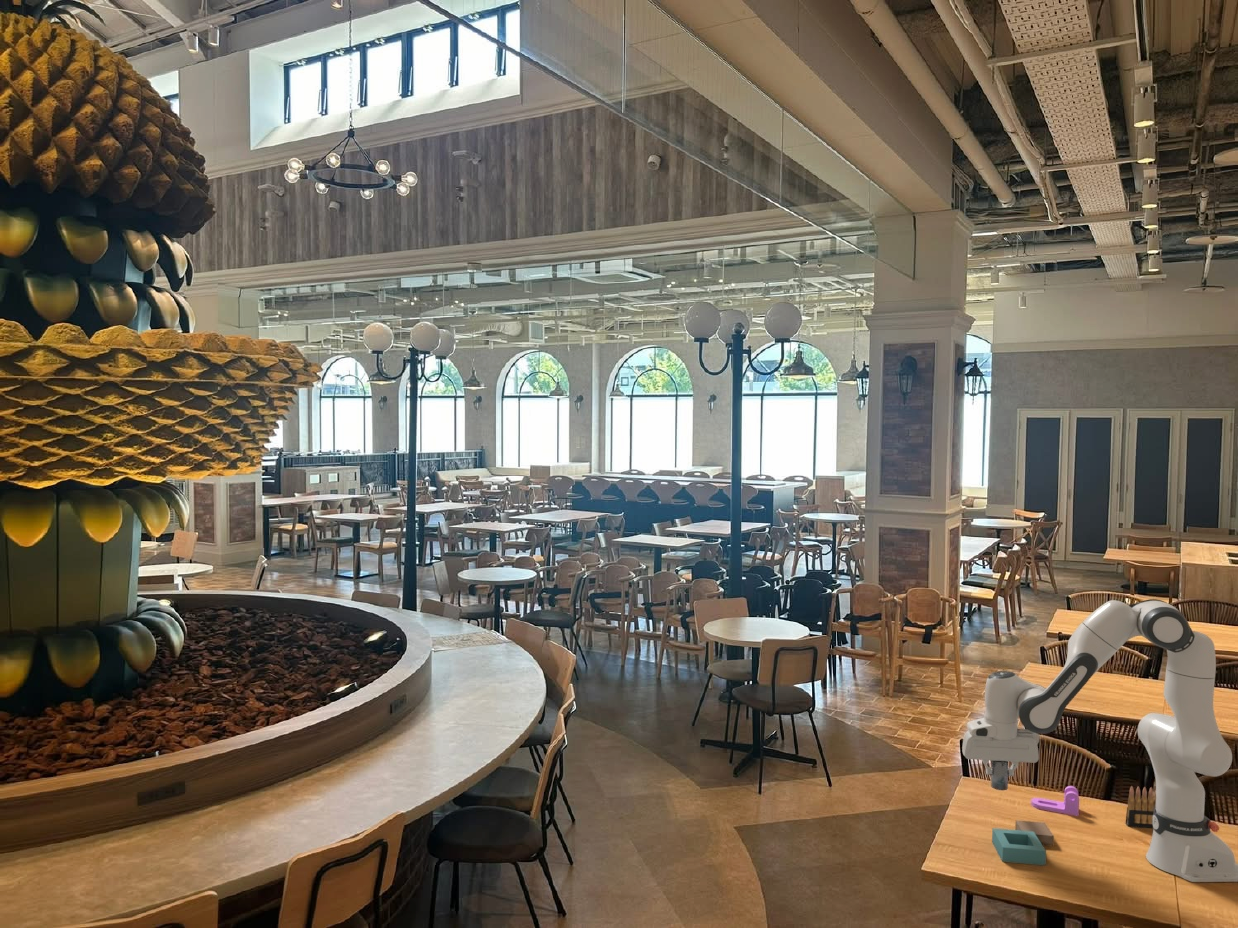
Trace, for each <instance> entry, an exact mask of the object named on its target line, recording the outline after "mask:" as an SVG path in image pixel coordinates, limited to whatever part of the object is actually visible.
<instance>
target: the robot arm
mask: <svg viewBox="0 0 1238 928" xmlns="http://www.w3.org/2000/svg"><path fill="white" fill-rule="evenodd" d="M1135 637H1142V638H1145V639H1146V640H1147V641H1148V642H1150V643H1152V644H1153V645H1155V646H1157V647H1159V648H1162V649H1164V650H1166V653H1167V659H1166V667H1165V676H1164V677H1165V678H1164V686H1163V698H1164V700H1165V701H1166V703H1167V705H1168V706H1169V707H1170V709H1171V711H1172V714H1173V716H1172V715H1169V714H1164V713H1159V712H1150V713H1147V714H1145V715H1144V716H1143V717H1142V718H1141V719H1140V720H1139V723H1138V725H1137V736H1138V738H1139V740H1140V741H1141V742H1142V744H1143V746H1144V747H1145V749H1146V751H1147V753H1148V756H1149V759H1150V761H1151V762H1150V763H1151V765H1152V768H1153V772H1154V777H1155V791H1156V806H1155V807H1154V811H1153V828H1152V834H1151V835H1152V836H1151V841H1150V844H1149V848H1148V850H1147V851H1146V855H1145V857H1146V859H1147V862H1149V863H1150V864H1151V865H1153V866H1154V867H1156V868H1158V869H1159V870H1161V871H1164V872H1167V873H1169V874H1172V875H1175V876H1177V877H1180V878H1182V879H1184V880H1186V881H1188V882H1191V883H1217V882H1218V883H1220V882H1221V883H1223V882H1225V883H1228V882H1230V883H1231V882H1233V883H1238V863H1237V861H1236V858H1235V853H1234V852H1233V850H1232V849H1231V847H1230V846H1229V845H1228V844H1227V843H1226V842H1225V841H1223V839H1221V838H1220V837H1219V836H1218V835H1216V834H1215V833H1217V832H1218V831H1220V826H1219V825H1218V824H1216V822H1215V821H1212V820H1211V819H1210V818H1208V817H1207V816H1206V815H1205V804H1206V803H1205V802H1206V799H1205V798H1206V790H1205V788H1204V786H1203V783H1202V782H1201V781H1200V780H1199V778H1198V776H1197V775H1196V773H1198V774H1201V775H1204V776H1208V777H1219V776H1222V775H1223V774H1225V773H1226V772H1227V771H1228V770H1229V768H1230V767H1231V765H1232V762H1233V754H1232V750H1231V748H1230V746H1229V745H1228V744H1227V742H1226V740H1225V739H1224V737H1223V736H1222V734H1221V732H1220V729H1219V726H1218V723H1217V720H1216V715H1215V710H1214V709H1215V708H1214V693H1215V682H1216V681H1215V680H1216V673H1217V672H1216V668H1217V664H1216V663H1217V659H1216V658H1217V657H1216V648H1215V643H1214V640H1212V638H1211V637H1209V636H1208V635H1206V634H1205V633H1203V632H1201V631H1195V630H1193V629H1192V628H1191V626H1190V624H1189V622H1188V620H1187V619H1186V617H1185V616H1184V614H1183V613H1181V611H1179V609H1178V608H1176V607H1175V606H1173V605H1172V604H1171V603H1170V604H1169V603H1167V602H1166V601H1164V600H1161V599H1155V598H1148V599H1145V600H1142V601H1139V602H1135V603H1132V604H1127V603H1125V602H1122V601H1120V600H1115V599H1111V600H1108V601H1107V602H1105V603H1103V604H1102V605H1101V606H1099V607H1098V608H1096V609H1095V610H1094V611H1093V612H1091V613H1090V614H1089V615H1088V616H1087V617H1086V618H1085V619H1084V620H1083V621H1082V622H1081V623H1080V624H1079V625H1078V626H1077V627H1076V629H1075V630H1074V631H1073V632H1072V634H1071V636H1070V637H1069V639H1068V642H1067V656H1066V661H1065V664H1064V666H1063V668H1062V669H1061V671H1060V672H1059V673H1058V675H1057V676H1055V678H1054V679H1053V680H1052V682H1051V683H1050V684H1049V685H1048V686H1047V687H1044V686H1043V685H1041V684H1036V683H1032V682H1029V681H1027V680H1025V679H1024V678H1021V677H1020V676H1019V675H1017V674H1016V672H1014V671H1009V670H999V671H995V672H992V673H990V674H989V675H988V676H987V679H986V681H985V682H986V683H985V689H984V704H985V710H984V715H983V717H981V718H978V719H974V720H970V721H968V722H967V723H966V728H967V731H966V732H965V733H964V735H963V739H962V747H961V749H962V750H961V751H962V754H963V756H964V757H965V759H967V760H979V761H981V762H982V764H983V765H984V767H985V775H986V776H987V775H988V776H989V775H990V776H991V775H992V774H993V773H992V772H993V769H992V766H988V764H989V763H990V761H992V760H993V761H1008V762H1011V765H1010V767H1008V777H1014V776H1015V771H1016V769H1017V768H1018V767H1019V763H1033V764H1034V763H1035V764H1036V763H1037V762H1038V761H1039V759H1040V753H1039V748H1038V747H1039V746H1038V745H1039V743H1040V735H1045V734H1046V735H1047V734H1050V733H1052V732H1054V731H1055V730H1056V729H1057V728H1058V726H1059V725H1060V723H1061V720H1062V716H1063V713H1064V711H1065V709H1066V708H1067V706H1068V705H1069V704H1070V703H1071V701H1072V700H1073V699H1074V698H1075V697H1076V695H1077V694H1079V692H1080V691H1081V690H1082V689H1083V688H1084V686H1085V685H1086V684H1087V683H1088V681H1090V679H1091V678H1092V677H1093V676H1094V675H1095V674H1096V673H1097V672H1098V671H1099V669H1100V668H1101V667H1103V666H1104V665H1105V664H1106V663H1107V662H1108V661H1109V660H1110V659H1111V658H1112V657H1113V656H1114V655H1115V654H1116V653H1117V651H1119V650H1120V648H1122V647H1123V646H1124V644H1125V643H1127V642H1128V641H1129V640H1131V639H1133V638H1135ZM1018 719H1019V720H1020V723H1021V725H1022V726H1023V727H1024V728H1019V727H1018V722H1019V720H1018ZM1039 734H1040V735H1039Z"/></svg>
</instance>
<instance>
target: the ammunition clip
mask: <svg viewBox="0 0 1238 928" xmlns="http://www.w3.org/2000/svg"><path fill="white" fill-rule="evenodd" d="M1141 794H1142V795H1141ZM1155 806H1156V790H1155V792H1154V790H1153V787H1152V786H1151V787H1150V788H1149V791H1147V788H1146V786H1144V787H1143V789H1142V793H1141V789H1140V786H1138V785H1137V788H1136V789H1135V791H1134V787H1133V785H1131V786H1130V787H1129V794H1128V799H1127V807H1126V815H1125V825H1126V826H1127V827H1128V828H1141V829H1144V828H1145V829H1153V811H1154V807H1155Z"/></svg>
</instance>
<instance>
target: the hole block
mask: <svg viewBox="0 0 1238 928" xmlns="http://www.w3.org/2000/svg"><path fill="white" fill-rule="evenodd" d="M991 843H992V845H993V847H994V849H995V850H996V853H997V854H998V856H999V859H1000V860H1001V862H1003V863H1004V862H1005V863H1014V864H1026V865H1037V866H1046V861H1047V860H1046V857H1047V851H1046V849H1045V847H1044V845H1042V844H1041V842H1040V841H1039V839H1038V838H1037V836H1036V834H1035V833H1034V832H1033V831H1020V830H1015V829H1005V828H996V827H995V828H994V827H993V828H992V834H991Z"/></svg>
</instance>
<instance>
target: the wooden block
mask: <svg viewBox="0 0 1238 928" xmlns="http://www.w3.org/2000/svg"><path fill="white" fill-rule="evenodd" d="M1014 830H1020V831H1033V832H1034V833H1035V834H1036V836H1037V838H1038V839H1039V841H1040V842H1041V844H1042V846H1048V847H1054V837H1055V836H1054V834H1053V832H1052V831H1051V830H1050V828H1049V826H1048V825H1047V823H1046V822H1041V821H1030V820H1027V821H1026V820H1015V826H1014Z"/></svg>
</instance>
